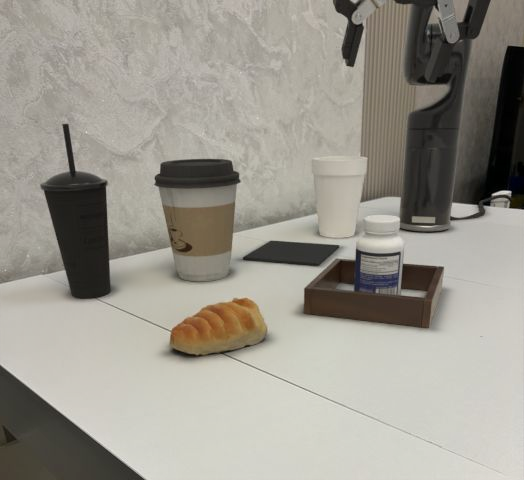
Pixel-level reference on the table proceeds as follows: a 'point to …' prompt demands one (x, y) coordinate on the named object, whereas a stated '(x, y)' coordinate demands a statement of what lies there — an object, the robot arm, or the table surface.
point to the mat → (292, 253)
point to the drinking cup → (80, 226)
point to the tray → (374, 296)
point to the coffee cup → (199, 215)
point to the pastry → (220, 328)
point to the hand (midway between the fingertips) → (389, 72)
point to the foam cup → (338, 193)
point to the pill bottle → (379, 256)
